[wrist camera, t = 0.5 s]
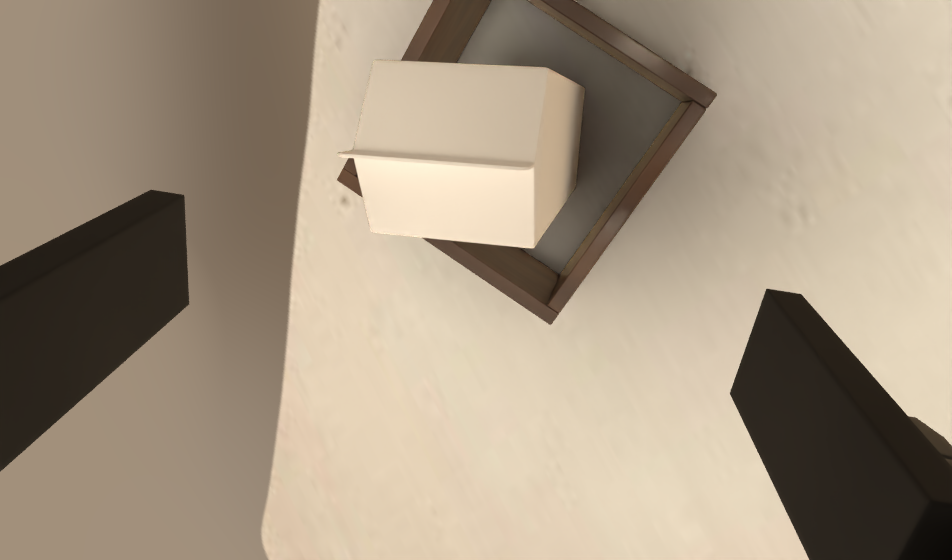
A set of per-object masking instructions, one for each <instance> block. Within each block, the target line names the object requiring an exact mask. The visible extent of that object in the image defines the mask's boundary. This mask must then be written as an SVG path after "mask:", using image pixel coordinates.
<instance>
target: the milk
mask: <svg viewBox="0 0 952 560" xmlns="http://www.w3.org/2000/svg"><path fill="white" fill-rule="evenodd" d="M584 94H585V88H584V87H583V86H581V85H579V84H577V83H575V82H573V81H571V80H570V79H568V78H566V77H564V76H562V75H560V74H558V73H556V72H555V71H553V70H551V69H549V68H546V67H530V66H507V65H485V64H463V63H440V62H418V61H396V60H375V61H374V62H373V64H372V67H371V72H370V76H369V81H368V85H367V89H366V94H365V98H364V102H363V107H362V111H361V116H360V120H359V124H358V129H357V133H356V138H355V142H354V146H353V150H351V151H345V152H339V153H337V156H339V157H344V158H354V162H355V166H356V170H357V175H358V179H359V183H360V188H361V192H362V196H363V200H364V205H365V209H366V213H367V218H368V222H369V226H370V230H371V231H372V232H374V233H382V234H392V235H402V236H412V237H422V238H432V239H442V240H452V241H462V242H472V243H482V244H492V245H502V246H512V247H522V248H534V247H535V246H536V244H537V243H538V241H539V240H540V238H541V237H542V236H543V234H544V233H545V231H546V230H547V228H548V227H549V225H550V224H551V223H552V221H553V220H554V218H555V217H556V215H557V214H558V212H559V211H560V209H561V208H562V207H563V205H564V204H565V202H566V201H567V199H568V198H569V196H570V195H571V194H572V192H573V191H574V189H575V188H576V180H577V169H578V158H579V148H580V137H581V126H582V116H583V105H584Z"/></svg>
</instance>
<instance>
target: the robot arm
mask: <svg viewBox="0 0 952 560" xmlns="http://www.w3.org/2000/svg"><path fill="white" fill-rule="evenodd" d="M185 227H186V225H185V202H184V195H180V194H174V193H168V192H161V191H155V190H150V191H148V192H146V193H144V194H142V195H140V196H138V197H136V198H134V199H132V200H130V201H128V202H126V203H124V204H122V205H120V206H118V207H116V208H114V209H112V210H110V211H108V212H106V213H104V214H102V215H100V216H98V217H96V218H94V219H92V220H90V221H88V222H86V223H84V224H83V225H80V226H78V227H76V228H74V229H73V230H70V231H68V232H66V233H65V234H62V235H60V236H59V237H57V238H55V239H53V240H51V241H49V242H47V243H45V244H43V245H41V246H39V247H37V248H35V249H33V250H31V251H29V252H27V253H25V254H23V255H21V256H19V257H17V258H15V259H13V260H11V261H9V262H7V263H5V264H3V265H1V266H0V471H1V470H3V469H4V468H5V467H6V466H7V465H8V464H9V463H10V462H12V461H13V460H14V459H15V458H16V457H17V456H18V455H20V454H21V453H22V452H23V451H24V450H25V449H26V448H27V447H28V446H30V445H31V444H32V443H33V442H34V441H35V440H36V439H38V438H39V437H40V436H41V435H42V434H43V433H44V432H45V431H47V430H48V429H49V428H50V427H51V426H52V425H53V424H54V423H56V422H57V421H58V420H59V419H60V418H61V417H62V416H63V415H64V414H66V413H67V412H68V411H69V410H70V409H71V408H72V407H74V406H75V405H76V404H77V403H78V402H79V401H80V400H81V399H83V398H84V397H85V396H86V395H87V394H88V393H89V392H91V391H92V390H93V389H94V388H95V387H96V386H97V385H98V384H100V383H101V382H102V381H103V380H104V379H105V378H106V377H107V376H109V375H110V374H111V373H112V372H113V371H114V370H115V369H116V368H118V367H119V366H120V365H121V364H122V363H123V362H124V361H126V360H127V358H129V357H130V356H131V355H132V354H133V353H134V352H135V351H137V350H138V349H139V348H140V347H141V346H142V345H144V344H145V343H146V342H147V341H148V340H149V339H150V338H151V337H153V336H154V335H155V334H156V333H157V332H158V331H159V330H160V329H162V328H163V327H164V326H165V325H166V324H167V323H168V322H169V321H170V320H172V319H173V318H174V317H175V316H176V315H177V314H178V313H180V312H181V311H182V310H183V309H184V308H185V307H186V306H188V305H189V292H188V270H187V248H186V228H185ZM730 395H731V397H732V399H733V401H734V403H735V405H736V407H737V409H738V411H739V413H740V416H741V418H742V420H743V422H744V424H745V426H746V428H747V430H748V432H749V434H750V436H751V439H752V441H753V443H754V445H755V447H756V449H757V451H758V453H759V455H760V457H761V459H762V461H763V464H764V466H765V468H766V470H767V472H768V474H769V476H770V478H771V480H772V482H773V484H774V487H775V489H776V491H777V493H778V495H779V497H780V499H781V501H782V503H783V505H784V507H785V510H786V512H787V514H788V516H789V518H790V520H791V522H792V524H793V526H794V528H795V530H796V533H797V535H798V537H799V539H800V541H801V543H802V545H803V547H804V549H805V551H806V553H807V556H808V558H809V560H952V446H951V445H950V444H949V442H948V441H947V440H946V439H945V438H944V437H943V436H941V435H940V434H938V433H937V432H935V431H934V430H933V429H931V428H930V427H928V426H927V425H926V424H924V423H923V422H921V421H920V420H918V419H917V418H915V417H909V416H907V415H906V414H905V412H904V411H903V410H902V409H901V408H900V407H899V406H898V404H897V403H896V402H895V401H894V400H893V399H892V398H891V396H890V395H889V394H888V393H887V392H886V391H885V390H884V388H883V387H882V386H881V385H880V384H879V383H878V382H877V380H876V379H875V378H874V377H873V376H872V375H871V373H870V372H869V371H868V370H867V369H866V368H865V367H864V365H863V364H862V363H861V362H860V361H859V360H858V359H857V357H856V356H855V355H854V354H853V353H852V352H851V351H850V349H849V348H848V347H847V346H846V345H845V344H844V343H843V341H842V340H841V339H840V338H839V337H838V336H837V335H836V333H835V332H834V331H833V330H832V329H831V328H830V327H829V325H828V324H827V323H826V322H825V321H824V320H823V319H822V317H821V316H820V315H819V314H818V313H817V312H816V311H815V309H814V308H813V307H812V306H811V305H810V304H809V303H808V301H807V300H806V299H805V298H804V297H803V296H802V295H801V294H796V293H790V292H784V291H777V290H771V289H766V292H765V295H764V297H763V300H762V303H761V306H760V309H759V312H758V315H757V317H756V320H755V323H754V326H753V329H752V332H751V335H750V337H749V340H748V343H747V346H746V349H745V352H744V355H743V357H742V360H741V363H740V366H739V369H738V372H737V375H736V377H735V380H734V383H733V386H732V389H731V392H730Z"/></svg>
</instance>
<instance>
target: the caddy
mask: <svg viewBox="0 0 952 560" xmlns="http://www.w3.org/2000/svg"><path fill="white" fill-rule="evenodd" d="M527 1H528V2H530V3H531V4H533V5H534V6H536V7H537V8H539V9H541V10H542V11H544V12H545V13H547V14H548V15H550V16H551V17H553V18H554V19H556V20H557V21H559V22H560V23H562V24H564V25H565V26H567V27H568V28H570V29H571V30H573V31H574V32H576V33H577V34H579V35H580V36H582V37H583V38H585V39H587V40H588V41H590V42H591V43H593V44H594V45H596V46H597V47H599V48H600V49H602V50H603V51H605V52H606V53H608V54H610V55H611V56H613V57H614V58H616V59H617V60H619V61H620V62H622V63H623V64H625V65H626V66H628V67H629V68H631V69H633V70H634V71H636V72H637V73H639V74H640V75H642V76H643V77H645V78H646V79H648V80H649V81H651V82H652V83H654V84H656V85H657V86H659V87H660V88H662V89H663V90H665V91H666V92H668V93H669V94H671V95H672V96H674V97H675V98H677V99H679V100H680V101H682V103H680V105H679V106H678V108H677V109H676V110H675V112H674V113H673V115H672V116H671V118H670V119H669V120H668V122H667V123H666V125H665V126H664V127H663V129H662V130H661V132H660V133H659V135H658V136H657V137H656V139H655V140H654V142H653V143H652V145H651V146H650V147H649V149H648V150H647V152H646V153H645V154H644V156H643V157H642V159H641V160H640V162H639V163H638V164H637V166H636V167H635V169H634V170H633V171H632V173H631V174H630V176H629V177H628V179H627V180H626V181H625V183H624V184H623V186H622V187H621V188H620V190H619V191H618V193H617V194H616V196H615V197H614V198H613V200H612V201H611V203H610V204H609V205H608V207H607V208H606V210H605V211H604V213H603V214H602V215H601V217H600V218H599V220H598V221H597V222H596V224H595V225H594V227H593V228H592V230H591V231H590V232H589V234H588V235H587V237H586V238H585V239H584V241H583V242H582V244H581V245H580V247H579V248H578V249H577V251H576V252H575V254H574V255H573V257H572V258H571V259H570V261H569V262H568V264H567V265H566V266H565V268H564V269H563V271H562V272H561V274H560V275H559V274H557V273H556V272H554V271H553V270H551V269H550V268H548V267H547V266H545V265H544V264H542V263H541V262H539V261H538V260H536V259H535V258H533V257H532V256H530V255H529V254H527V253H526V252H525V251H523V250H522V249H520V248H519V247H512V246H502V245H492V244H482V243H472V242H462V241H452V240H442V239H432V238H423V239H424V240H426V241H427V242H429V243H430V244H432V245H433V246H435V247H436V248H438V249H439V250H441V251H442V252H444V253H445V254H447V255H448V256H450V257H451V258H452V259H454V260H455V261H457V262H458V263H460V264H461V265H463V266H464V267H466V268H467V269H469V270H470V271H472V272H473V273H475V274H476V275H478V276H479V277H480V278H482V279H483V280H485V281H486V282H488V283H489V284H491V285H492V286H494V287H495V288H497V289H498V290H500V291H501V292H503V293H504V294H505V295H507V296H508V297H510V298H511V299H513V300H514V301H516V302H517V303H519V304H520V305H522V306H523V307H525V308H526V309H528V310H529V311H531V312H532V313H533V314H535V315H536V316H538V317H539V318H541V319H542V320H544V321H545V322H547V323H548V324H550V325H551V324H552V323H553V321H554V320H555V319H556V317H557V316H558V315H559V313H560V312H561V310H562V309H563V308H564V306H565V305H566V303H567V302H568V301H569V299H570V298H571V296H572V295H573V294H574V292H575V291H576V290H577V288H578V287H579V285H580V284H581V283H582V281H583V280H584V278H585V277H586V276H587V274H588V273H589V272H590V270H591V269H592V267H593V266H594V265H595V263H596V262H597V260H598V259H599V258H600V256H601V255H602V254H603V252H604V251H605V249H606V248H607V247H608V245H609V244H610V242H611V241H612V240H613V238H614V237H615V236H616V234H617V233H618V231H619V230H620V229H621V227H622V226H623V224H624V223H625V222H626V220H627V219H628V218H629V216H630V215H631V213H632V212H633V211H634V209H635V208H636V206H637V205H638V204H639V202H640V201H641V200H642V198H643V197H644V195H645V194H646V193H647V191H648V190H649V188H650V187H651V186H652V184H653V183H654V182H655V180H656V179H657V177H658V176H659V175H660V173H661V172H662V170H663V169H664V168H665V166H666V165H667V164H668V162H669V161H670V159H671V158H672V157H673V155H674V154H675V152H676V151H677V150H678V148H679V147H680V146H681V144H682V143H683V141H684V140H685V139H686V137H687V136H688V134H689V133H690V132H691V130H692V129H693V128H694V126H695V125H696V123H697V122H698V121H699V119H700V118H701V116H702V115H703V114H704V112H705V111H706V108H708V107H709V105H710V104H711V103H712V101H713V100H714V98H715V97H716V96H717V93H715V92H714V91H712V90H711V89H709V88H708V87H706V86H705V85H703V84H702V83H700V82H698V81H697V80H695V79H694V78H692V77H691V76H689V75H688V74H686V73H685V72H683V71H682V70H680V69H678V68H677V67H675V66H674V65H672V64H671V63H669V62H668V61H666V60H665V59H663V58H661V57H660V56H658V55H657V54H655V53H654V52H652V51H651V50H649V49H648V48H646V47H645V46H643V45H641V44H640V43H638V42H637V41H635V40H634V39H632V38H631V37H629V36H628V35H626V34H625V33H623V32H621V31H620V30H618V29H617V28H615V27H614V26H612V25H611V24H609V23H608V22H606V21H605V20H603V19H601V18H600V17H598V16H597V15H595V14H594V13H592V12H591V11H589V10H588V9H586V8H585V7H583V6H581V5H580V4H578V3H577V2H575V1H574V0H527ZM490 2H491V0H433V2H432V4H431V6H430V7H429V9H428V11H427V13H426V15H425V17H424V19H423V20H422V22H421V24H420V26H419V28H418V30H417V32H416V33H415V35H414V37H413V39H412V41H411V43H410V45H409V47H408V48H407V50H406V52H405V54H404V56H403V58H402V60H401V61H418V62H440V63H456V62H457V60H458V58H459V57H460V55H461V53H462V51H463V49H464V48H465V46H466V44H467V42H468V41H469V39H470V37H471V35H472V34H473V32H474V30H475V28H476V27H477V25H478V23H479V21H480V20H481V18H482V16H483V14H484V12H485V11H486V9H487V7H488V5H489V4H490ZM337 180H338V181H339V182H340V183H342V184H343V185H345V186H346V187H348V188H349V189H351V190H352V191H354V192H355V193H357V194H358V195H360V196H361V197H363V196H362V192H361V188H360V183H359V179H358V175H357V170H356V166H355V162H354V158H348V160H347V162H346V164H345V166H344V168H343V170H342V171H341V173H340V175H339V177H338V179H337Z"/></svg>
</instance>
